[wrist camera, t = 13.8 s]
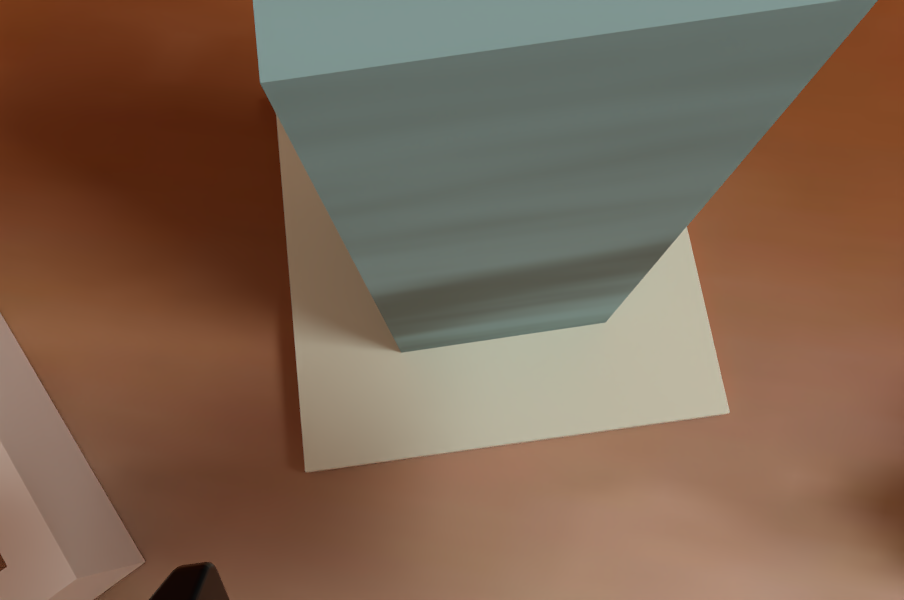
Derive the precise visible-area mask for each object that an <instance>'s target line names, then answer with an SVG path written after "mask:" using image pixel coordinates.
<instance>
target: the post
mask: <svg viewBox="0 0 904 600" xmlns="http://www.w3.org/2000/svg"><path fill="white" fill-rule="evenodd" d="M877 1H878V0H253V8H254V19H255V31H256V42H257V53H258V65H259V76H260V84H261V86H262V88H263V90H264V91H265V93H266V95H267V97H268V99H269V101H270V103H271V105H272V107H273V109H274V111H275V113H276V114H277V116H278V118H279V120H280V122H281V124H282V126H283V128H284V130H285V132H286V134H287V135H288V137H289V139H290V141H291V143H292V145H293V147H294V149H295V151H296V153H297V155H298V156H299V158H300V160H301V162H302V164H303V166H304V168H305V170H306V172H307V174H308V176H309V177H310V179H311V181H312V183H313V185H314V187H315V189H316V191H317V193H318V195H319V197H320V199H321V200H322V202H323V204H324V206H325V208H326V210H327V212H328V214H329V216H330V218H331V220H332V221H333V223H334V225H335V227H336V229H337V231H338V233H339V235H340V237H341V239H342V241H343V242H344V244H345V246H346V248H347V250H348V252H349V254H350V256H351V258H352V260H353V262H354V263H355V265H356V267H357V269H358V271H359V273H360V275H361V277H362V279H363V281H364V283H365V284H366V286H367V288H368V290H369V292H370V294H371V296H372V298H373V300H374V302H375V304H376V306H377V307H378V309H379V311H380V313H381V315H382V317H383V319H384V321H385V323H386V325H387V327H388V328H389V330H390V332H391V334H392V336H393V338H394V340H395V342H396V344H397V346H398V348H399V349H400V351H401V353H403V352H410V351H417V350H423V349H430V348H437V347H444V346H451V345H457V344H464V343H471V342H478V341H484V340H491V339H498V338H505V337H511V336H518V335H525V334H532V333H539V332H545V331H552V330H559V329H566V328H572V327H579V326H586V325H593V324H599V323H606V322H607V320H608V319H609V318H610V317H611V316H612V314H613V313H614V312H615V311H616V310H617V309H618V307H619V306H620V305H621V304H622V303H623V301H624V300H625V299H626V298H627V297H628V295H629V294H630V293H631V292H632V291H633V290H634V288H635V287H636V286H637V285H638V284H639V282H640V281H641V280H642V279H643V278H644V277H645V275H646V274H647V273H648V272H649V271H650V269H651V268H652V267H653V266H654V265H655V263H656V262H657V261H658V260H659V259H660V258H661V256H662V255H663V254H664V253H665V252H666V250H667V249H668V248H669V247H670V246H671V245H672V243H673V242H674V241H675V240H676V239H677V237H678V236H679V235H680V234H681V233H682V232H683V230H684V229H685V228H686V227H687V226H688V224H689V223H690V222H691V221H692V220H693V218H694V217H695V216H696V215H697V214H698V213H699V211H700V210H701V209H702V208H703V207H704V205H705V204H706V203H707V202H708V201H709V200H710V198H711V197H712V196H713V195H714V194H715V192H716V191H717V190H718V189H719V188H720V187H721V185H722V184H723V183H724V182H725V181H726V179H727V178H728V177H729V176H730V175H731V173H732V172H733V171H734V170H735V169H736V168H737V166H738V165H739V164H740V163H741V162H742V160H743V159H744V158H745V157H746V156H747V155H748V153H749V152H750V151H751V150H752V149H753V147H754V146H755V145H756V144H757V143H758V141H759V140H760V139H761V138H762V137H763V136H764V134H765V133H766V132H767V131H768V130H769V128H770V127H771V126H772V125H773V124H774V123H775V121H776V120H777V119H778V118H779V117H780V115H781V114H782V113H783V112H784V111H785V110H786V108H787V107H788V106H789V105H790V104H791V102H792V101H793V100H794V99H795V98H796V96H797V95H798V94H799V93H800V92H801V91H802V89H803V88H804V87H805V86H806V85H807V83H808V82H809V81H810V80H811V79H812V78H813V76H814V75H815V74H816V73H817V72H818V70H819V69H820V68H821V67H822V66H823V64H824V63H825V62H826V61H827V60H828V59H829V57H830V56H831V55H832V54H833V53H834V51H835V50H836V49H837V48H838V47H839V46H840V44H841V43H842V42H843V41H844V40H845V38H846V37H847V36H848V35H849V34H850V33H851V31H852V30H853V29H854V28H855V27H856V25H857V24H858V23H859V22H860V21H861V19H862V18H863V17H864V16H865V15H866V14H867V12H868V11H869V10H870V9H871V8H872V6H873V5H874V4H875V3H876V2H877Z"/></svg>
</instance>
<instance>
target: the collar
mask: <svg viewBox="0 0 904 600" xmlns="http://www.w3.org/2000/svg"><path fill="white" fill-rule="evenodd" d="M0 554H1V556H2V558H3V559H4V561H5V563H6V565H7V567H6V568H4V569H3V570H2V571H0V600H94V599H95V598H96V597H98V596H99V595H101V594H102V593H103V592H105V591H106V590H107V589H109V588H110V587H112V586H113V585H114V584H116V583H117V582H119V581H120V580H121V579H123V578H124V577H125V576H127V575H128V574H130V573H131V572H132V571H134V570H135V569H136V568H138V567H139V566H141V565H142V564H143V563H145V560H144V559H143V557H142V555H141V554H140V552H139V550H138V548H137V547H136V545H135V543H134V542H133V540H132V538H131V536H130V535H129V533H128V531H127V530H126V528H125V526H124V524H123V523H122V521H121V519H120V518H119V516H118V514H117V512H116V511H115V509H114V507H113V505H112V504H111V502H110V500H109V499H108V497H107V495H106V493H105V492H104V490H103V488H102V487H101V485H100V483H99V481H98V480H97V478H96V476H95V475H94V473H93V471H92V469H91V468H90V466H89V464H88V463H87V461H86V459H85V457H84V456H83V454H82V452H81V450H80V449H79V447H78V445H77V444H76V442H75V440H74V438H73V437H72V435H71V433H70V432H69V430H68V428H67V426H66V425H65V423H64V421H63V420H62V418H61V416H60V414H59V413H58V411H57V409H56V408H55V406H54V404H53V402H52V401H51V399H50V397H49V396H48V394H47V392H46V390H45V389H44V387H43V385H42V383H41V382H40V380H39V378H38V377H37V375H36V373H35V371H34V370H33V368H32V366H31V365H30V363H29V361H28V359H27V358H26V356H25V354H24V353H23V351H22V349H21V347H20V346H19V344H18V342H17V341H16V339H15V337H14V335H13V334H12V332H11V330H10V328H9V327H8V325H7V323H6V322H5V320H4V318H3V316H2V315H1V313H0Z"/></svg>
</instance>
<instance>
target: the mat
mask: <svg viewBox="0 0 904 600" xmlns="http://www.w3.org/2000/svg"><path fill="white" fill-rule="evenodd" d="M276 119H277V131H278V144H279V156H280V168H281V181H282V193H283V205H284V218H285V230H286V242H287V254H288V267H289V279H290V291H291V304H292V316H293V328H294V341H295V353H296V365H297V378H298V390H299V402H300V415H301V427H302V439H303V452H304V464H305V472H316V471H323V470H331V469H338V468H345V467H352V466H359V465H366V464H374V463H381V462H388V461H395V460H402V459H410V458H417V457H424V456H431V455H438V454H445V453H453V452H460V451H467V450H474V449H481V448H489V447H496V446H503V445H510V444H517V443H524V442H532V441H539V440H546V439H553V438H560V437H568V436H575V435H582V434H589V433H596V432H603V431H611V430H618V429H625V428H632V427H639V426H647V425H654V424H661V423H668V422H675V421H682V420H690V419H697V418H704V417H711V416H718V415H724V414H728V413H730V411H729V407H728V403H727V399H726V394H725V390H724V386H723V381H722V377H721V373H720V368H719V364H718V360H717V355H716V351H715V347H714V342H713V338H712V334H711V329H710V325H709V321H708V316H707V312H706V308H705V303H704V299H703V295H702V290H701V286H700V282H699V277H698V273H697V269H696V265H695V260H694V256H693V252H692V247H691V243H690V239H689V234H688V230H687V227H686V228H685V229H684V230H683V232H682V233H681V234H680V235H679V236H678V237H677V239H676V240H675V241H674V242H673V243H672V245H671V246H670V247H669V248H668V249H667V250H666V252H665V253H664V254H663V255H662V256H661V258H660V259H659V260H658V261H657V262H656V263H655V265H654V266H653V267H652V268H651V269H650V271H649V272H648V273H647V274H646V275H645V277H644V278H643V279H642V280H641V281H640V282H639V284H638V285H637V286H636V287H635V288H634V290H633V291H632V292H631V293H630V294H629V295H628V297H627V298H626V299H625V300H624V301H623V303H622V304H621V305H620V306H619V307H618V309H617V310H616V311H615V312H614V313H613V314H612V316H611V317H610V318H609V319H608V320H607V322H606V323H599V324H593V325H586V326H579V327H572V328H566V329H559V330H552V331H545V332H539V333H532V334H525V335H518V336H511V337H505V338H498V339H491V340H484V341H478V342H471V343H464V344H457V345H451V346H444V347H437V348H430V349H423V350H417V351H410V352H403V353H401V351H400V349H399V348H398V346H397V344H396V342H395V340H394V338H393V336H392V334H391V332H390V330H389V328H388V327H387V325H386V323H385V321H384V319H383V317H382V315H381V313H380V311H379V309H378V307H377V306H376V304H375V302H374V300H373V298H372V296H371V294H370V292H369V290H368V288H367V286H366V284H365V283H364V281H363V279H362V277H361V275H360V273H359V271H358V269H357V267H356V265H355V263H354V262H353V260H352V258H351V256H350V254H349V252H348V250H347V248H346V246H345V244H344V242H343V241H342V239H341V237H340V235H339V233H338V231H337V229H336V227H335V225H334V223H333V221H332V220H331V218H330V216H329V214H328V212H327V210H326V208H325V206H324V204H323V202H322V200H321V199H320V197H319V195H318V193H317V191H316V189H315V187H314V185H313V183H312V181H311V179H310V177H309V176H308V174H307V172H306V170H305V168H304V166H303V164H302V162H301V160H300V158H299V156H298V155H297V153H296V151H295V149H294V147H293V145H292V143H291V141H290V139H289V137H288V135H287V134H286V132H285V130H284V128H283V126H282V124H281V122H280V120H279V118H278V116H277V114H276Z"/></svg>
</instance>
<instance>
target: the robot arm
mask: <svg viewBox="0 0 904 600" xmlns="http://www.w3.org/2000/svg"><path fill="white" fill-rule="evenodd" d="M149 600H229V598H228V595H227V593H226V590H225V588H224V586H223V583H222V581H221V578H220V576H219V573H218V571H217V569H216V567H215V566H214V565H213V564H212V563H210V562H202V563H195V564H188V565H182V566H179V567H177V568H176V569H175V570H173V571H172V572H171V574H170V575H169V576H168V577H167V578H166V580H165V581H164V582H163V583H162V584H161V586H160V587H159V588H158V589H157V590H156V592H155V593H154V594H153V595H152V597H151V598H150V599H149Z"/></svg>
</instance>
